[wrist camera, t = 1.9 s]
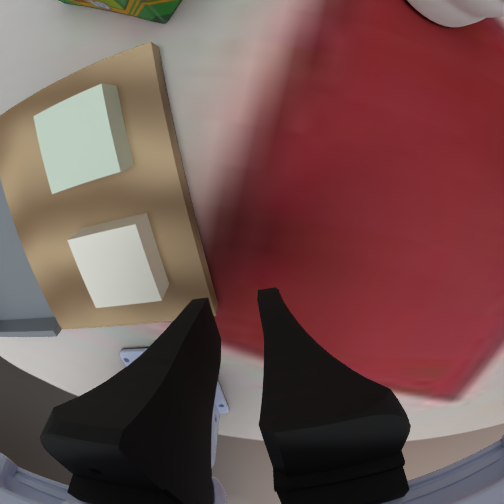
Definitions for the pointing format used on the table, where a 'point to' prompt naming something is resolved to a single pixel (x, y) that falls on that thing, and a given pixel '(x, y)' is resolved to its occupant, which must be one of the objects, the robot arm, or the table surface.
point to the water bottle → (458, 10)
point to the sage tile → (83, 138)
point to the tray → (20, 286)
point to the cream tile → (120, 262)
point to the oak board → (106, 195)
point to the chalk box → (134, 7)
